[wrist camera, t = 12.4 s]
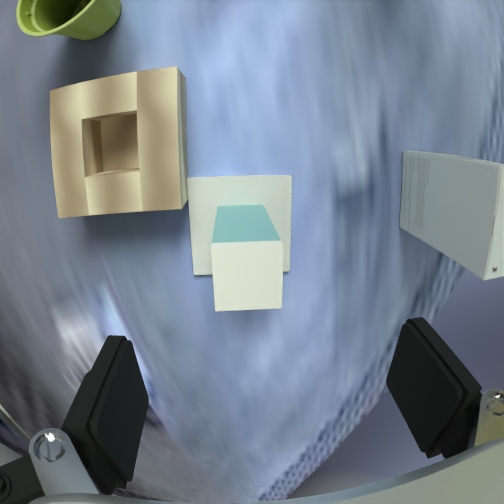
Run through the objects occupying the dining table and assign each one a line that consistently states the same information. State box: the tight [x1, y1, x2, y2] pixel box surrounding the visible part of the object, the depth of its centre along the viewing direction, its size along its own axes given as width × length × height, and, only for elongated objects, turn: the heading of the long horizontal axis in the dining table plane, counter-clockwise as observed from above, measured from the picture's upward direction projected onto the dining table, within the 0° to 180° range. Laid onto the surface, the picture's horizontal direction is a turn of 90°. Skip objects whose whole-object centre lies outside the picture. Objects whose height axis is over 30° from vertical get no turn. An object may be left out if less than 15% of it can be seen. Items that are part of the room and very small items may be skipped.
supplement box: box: [399, 150, 504, 280], centre depth 25 cm, size 9×9×15 cm
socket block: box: [50, 67, 188, 218], centre depth 26 cm, size 12×12×5 cm
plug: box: [211, 205, 284, 311], centre depth 26 cm, size 4×4×12 cm
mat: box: [187, 175, 292, 275], centre depth 31 cm, size 10×10×1 cm
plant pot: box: [17, 0, 121, 40], centre depth 18 cm, size 9×9×9 cm
